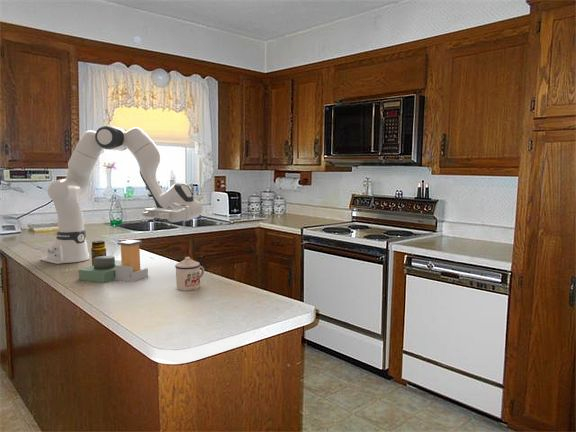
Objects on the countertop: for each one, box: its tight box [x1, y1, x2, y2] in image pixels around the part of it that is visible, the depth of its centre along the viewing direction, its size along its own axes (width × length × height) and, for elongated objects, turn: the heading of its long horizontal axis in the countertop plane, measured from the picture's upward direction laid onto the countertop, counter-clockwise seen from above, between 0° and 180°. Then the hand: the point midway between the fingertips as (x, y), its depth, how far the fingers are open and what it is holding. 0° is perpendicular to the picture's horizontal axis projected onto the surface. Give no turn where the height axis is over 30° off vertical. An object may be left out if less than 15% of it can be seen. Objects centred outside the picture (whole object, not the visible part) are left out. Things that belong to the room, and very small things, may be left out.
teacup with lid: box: [174, 256, 205, 292], centre depth 168 cm, size 12×9×12 cm
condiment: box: [90, 240, 107, 266], centre depth 197 cm, size 7×8×12 cm
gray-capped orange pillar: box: [117, 239, 143, 272], centre depth 180 cm, size 6×6×14 cm
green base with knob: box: [77, 255, 149, 284], centre depth 183 cm, size 22×19×8 cm
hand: (151, 215), depth 189 cm, fingers open, 8 cm apart
